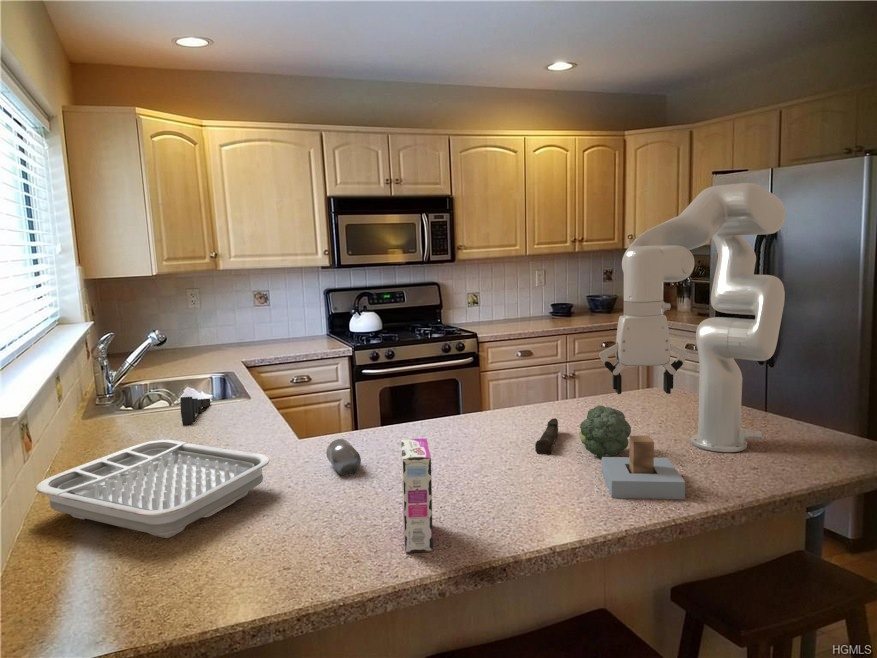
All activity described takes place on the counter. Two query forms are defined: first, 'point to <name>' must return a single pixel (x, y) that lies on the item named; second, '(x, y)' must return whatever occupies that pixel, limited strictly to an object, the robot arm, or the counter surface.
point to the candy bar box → (417, 495)
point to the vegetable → (605, 431)
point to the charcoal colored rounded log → (547, 438)
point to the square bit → (641, 455)
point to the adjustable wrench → (191, 408)
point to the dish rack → (155, 485)
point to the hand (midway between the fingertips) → (642, 392)
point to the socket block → (642, 480)
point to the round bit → (343, 457)
